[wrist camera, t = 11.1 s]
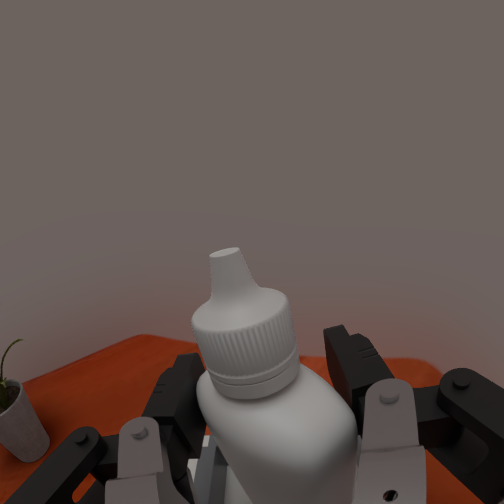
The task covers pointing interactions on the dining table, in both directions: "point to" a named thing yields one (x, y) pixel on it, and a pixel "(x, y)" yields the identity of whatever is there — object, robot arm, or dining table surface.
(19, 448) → the house plant
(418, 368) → the dining table surface
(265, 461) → the eye dropper bottle
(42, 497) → the robot arm
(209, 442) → the bottle holder
